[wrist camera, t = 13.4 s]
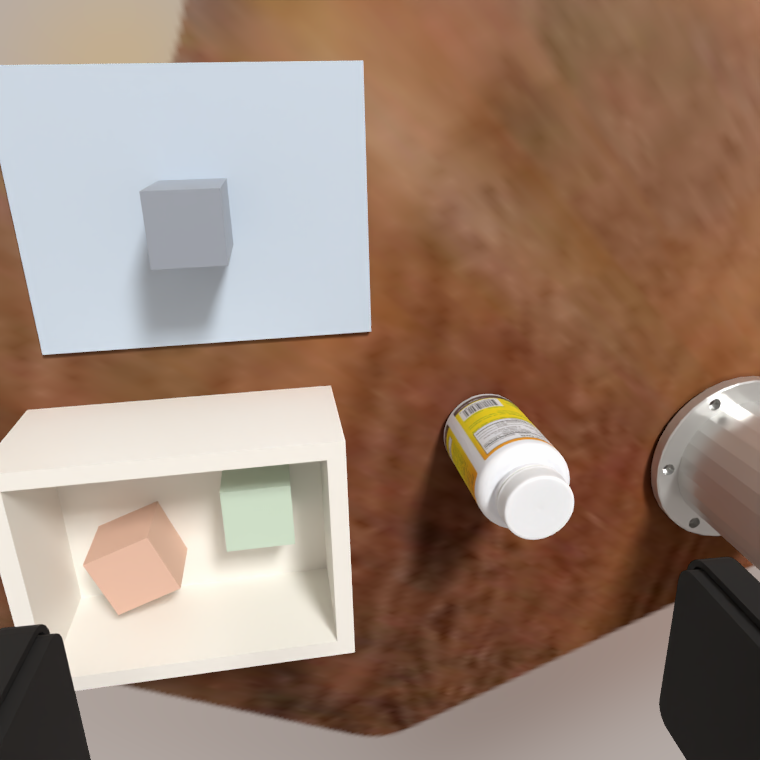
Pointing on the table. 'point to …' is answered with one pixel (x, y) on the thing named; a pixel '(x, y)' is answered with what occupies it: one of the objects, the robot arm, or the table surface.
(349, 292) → the lid
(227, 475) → the sage block
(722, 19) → the table surface
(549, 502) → the supplement bottle
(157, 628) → the storage box
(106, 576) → the terracotta block
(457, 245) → the table surface
